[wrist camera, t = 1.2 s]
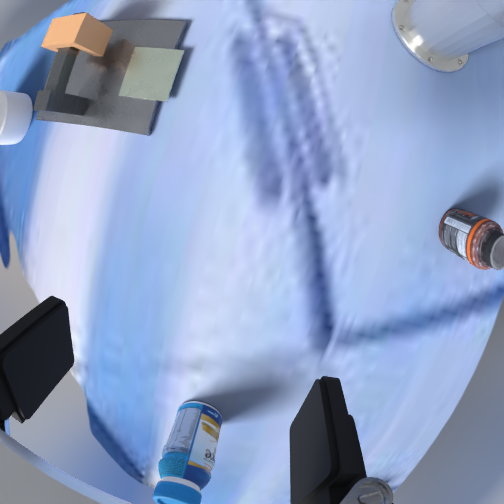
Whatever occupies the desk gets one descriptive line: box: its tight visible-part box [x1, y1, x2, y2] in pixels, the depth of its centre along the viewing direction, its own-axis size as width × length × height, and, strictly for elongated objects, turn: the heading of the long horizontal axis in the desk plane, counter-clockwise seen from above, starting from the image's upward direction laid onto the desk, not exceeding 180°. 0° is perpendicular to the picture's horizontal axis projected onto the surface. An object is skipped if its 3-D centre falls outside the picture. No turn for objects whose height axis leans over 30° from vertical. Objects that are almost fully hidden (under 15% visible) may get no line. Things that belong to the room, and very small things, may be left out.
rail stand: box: [33, 12, 187, 136], centre depth 25 cm, size 16×22×9 cm
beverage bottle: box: [153, 401, 222, 504], centre depth 36 cm, size 8×8×20 cm
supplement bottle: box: [439, 209, 504, 270], centre depth 27 cm, size 6×6×11 cm
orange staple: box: [41, 13, 113, 57], centre depth 22 cm, size 4×6×7 cm, turn 74°
